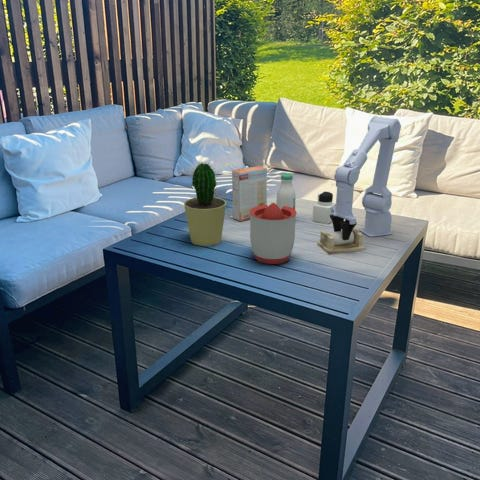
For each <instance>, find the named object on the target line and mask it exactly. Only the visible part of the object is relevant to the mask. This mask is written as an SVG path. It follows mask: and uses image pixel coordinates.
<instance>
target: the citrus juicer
mask: <svg viewBox="0 0 480 480" xmlns="http://www.w3.org/2000/svg"><path fill="white" fill-rule="evenodd" d="M296 215H297V211H296V209H295V210H294V209H293V208H291V207H288V206H283V207H282V208H281V209H280V208H279V207H278V206H277V205H276V202H272V203H270V204H269V205H268V204H267V205H261V206H256V207H254V208H252V209H251V210H250V219H249V221H250V222H249V224H250V227H249V228H250V229H249V236H250V237H249V239H250V246H251V249H252V254H253V256H254V257H255V259H256V261H258V262H259V263H263V264H266V265H267V264H269V265H277V264H280V265H281V264H283V263H285V262H287V261H288V260H289V258H290V256H291V255H292V251H293V248H294V244H295V239H296V238H295V237H296Z"/></svg>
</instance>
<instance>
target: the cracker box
mask: <svg viewBox="0 0 480 480" xmlns="http://www.w3.org/2000/svg"><path fill="white" fill-rule="evenodd" d="M231 181H232V183H231V186H232V187H231V189H232V191H231V192H232V218H233V219H234V220H236V221H238V222H245V221H250V210H251V209H252V208H254V207H256V206H261V205H267V206H268V203H267V201H268V195H267V194H268V193H267V192H268V188H267V187H268V168H266V167H265V166H262V165H256V166H250V167H249V166H248V167H245V168H239V169H233V170H231Z"/></svg>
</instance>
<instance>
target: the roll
mask: <svg viewBox="0 0 480 480" xmlns="http://www.w3.org/2000/svg"><path fill="white" fill-rule="evenodd" d="M328 234H329V235H331V236H332V237H333V238H334V246H338V245H346V244H352V243H353V242H354V234H353V232H351V235H350V237H349V240H343V239H342V230H341V231H338V232H334V231H331V232H328Z"/></svg>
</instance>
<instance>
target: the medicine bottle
mask: <svg viewBox="0 0 480 480" xmlns="http://www.w3.org/2000/svg"><path fill="white" fill-rule="evenodd" d="M333 197H334V194H333V193H332V192H330V191H319V192H318V193H317V201H316V203H314V204H313V206H312V222H316V223H318V224H319V223H320V224H325V225H329V224H331V223H332V220H331V218H330V215H331V214H332V213H334V212H331V207H334V206H336V202H333Z"/></svg>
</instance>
